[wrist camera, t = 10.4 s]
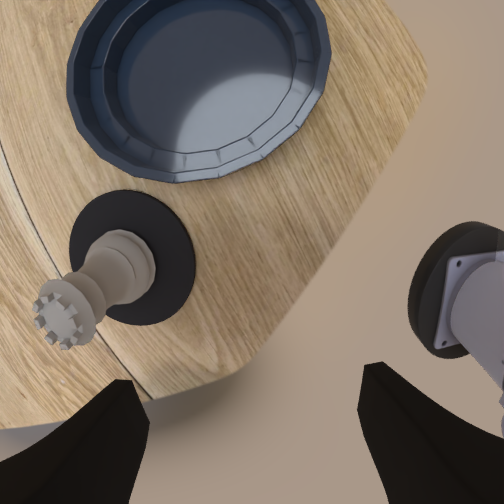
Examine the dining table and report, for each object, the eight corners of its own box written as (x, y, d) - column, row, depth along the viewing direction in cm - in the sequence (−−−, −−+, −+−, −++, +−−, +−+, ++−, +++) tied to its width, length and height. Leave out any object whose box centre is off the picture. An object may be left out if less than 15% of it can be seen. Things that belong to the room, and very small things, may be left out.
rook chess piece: (130, 307, 19) (71, 382, 11) (84, 259, 18) (7, 312, 10) (172, 265, 18) (117, 336, 10) (122, 212, 17) (39, 250, 9)
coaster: (185, 180, 17) (183, 180, 16) (205, 321, 19) (204, 324, 19) (61, 201, 17) (58, 202, 17) (90, 322, 20) (88, 325, 19)
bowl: (299, -23, 13) (307, -57, 9) (326, 167, 16) (345, 169, 12) (103, 11, 13) (74, -11, 9) (109, 191, 17) (74, 201, 13)
